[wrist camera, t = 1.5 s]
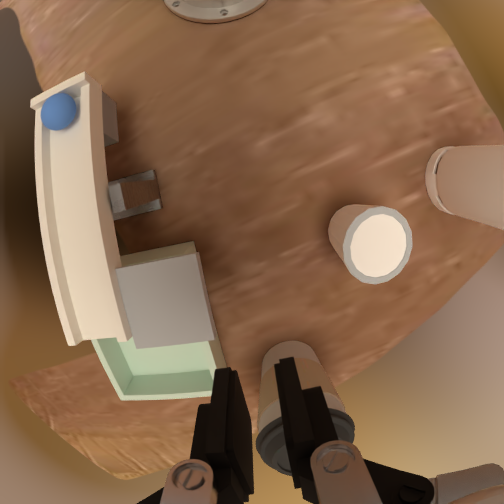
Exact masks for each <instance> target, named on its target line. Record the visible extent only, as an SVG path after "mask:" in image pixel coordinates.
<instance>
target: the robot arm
mask: <svg viewBox="0 0 504 504" xmlns="http://www.w3.org/2000/svg"><path fill="white" fill-rule="evenodd" d="M163 1H164V3H165V5H166V6H167V7H168V8H169V10H170V11H172V12H173V13H174V14H176V15H177V16H179V17H182V18H184V19H186V20H190V21H194V22H202V23H219V22H227V21H231V20H235V19H239V18H242V17H244V16H246V15H249V14H251V13H252V12H254V11H256V10H258V9H259V8H260V7H261V6H262V5H264V4H265V3H266V1H267V0H163ZM224 15H225V16H224ZM279 362H280V363H277V364H274V369H275V376H276V382H277V389H278V396H279V403H280V410H281V416H282V423H283V430H284V437H285V443H286V449H287V453H288V458H289V463H290V468H291V473H292V477H293V482H294V487H295V489H296V488H301V489H302V495H303V499H304V500H306V501H308V502H310V503H313V504H504V470H503V468H502V467H500V466H499V465H497V464H493V463H491V464H485V465H481V466H477V467H473V468H469V469H465V470H461V471H456V472H451V473H446V474H441V475H437V476H436V478H430V479H427V478H425V477H423V476H420V475H416V474H412V473H408V472H404V471H400V470H397V469H394V468H391V467H387V466H384V465H381V464H378V463H375V462H372V461H368V460H366V459H363V458H362V455H361V453H360V451H359V450H358V448H357V447H356V446H355V445H353V444H352V443H350V442H347V441H341V440H339V439H338V436H337V433H336V430H335V427H334V424H333V421H332V418H331V415H330V412H329V409H328V406H327V403H326V400H325V397H324V394H323V391H322V388H321V386H317V387H313V388H308V389H303V390H302V388H301V384H300V380H299V376H298V372H297V368H296V364H295V360H294V357H288V358H283V359H279ZM250 494H254V481H253V453H252V425H251V418H250V415H249V411H248V408H247V404H246V401H245V398H244V394H243V391H242V387H241V384H240V380H239V377H238V373H237V371H236V370H233V371H232V370H231V368H230V367H227V368H219V369H215V372H214V380H213V387H212V395H211V403H209V404H200V405H199V407H198V412H197V418H196V424H195V430H194V436H193V442H192V448H191V455H190V459H188V460H184V461H181V462H179V463H177V464H176V465H174V466H173V467H172V468H171V469H170V471H169V473H168V475H167V479H166V482H165V486H164V487H163V488H161V489H160V490H158V491H157V492H155V493H154V494H152V495H150V496H149V497H147V498H146V499H144V500H142V501H140V502H139V503H137V504H244V502H248V501H249V495H250Z"/></svg>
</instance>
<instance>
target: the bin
mask: <svg viewBox="0 0 504 504" xmlns="http://www.w3.org/2000/svg"><path fill="white" fill-rule="evenodd" d="M190 253H196V248H195V244H194V241H191V242H186V243H181V244H176V245H171V246H166V247H161V248H156V249H151V250H147V251H142V252H137V253H132V254H128V255H123V256H120V259H121V264H122V267H124V266H129V265H134V264H139V263H144V262H149V261H154V260H159V259H165V258H170V257H175V256H180V255H185V254H190ZM213 320H214V319H213ZM214 324H215V323H214ZM215 328H216V327H215ZM216 333H217V330H216ZM91 341H92V343H93V346H94V348H95V350H96V352H97V354H98V356H99V359H100V361H101V363H102V365H103V367H104V369H105V371H106V373H107V375H108V377H109V379H110V381H111V383H112V385H113V386H114V388H115V390H116V392H117V394H118V396H119V398H120V399H121V400H161V399H180V398H194V397H205V396H211V395H212V387H213V380H214V372H215V369H219V368H227V365H226V362H225V358H224V355H223V352H222V348H221V345H220V341H219V338H218V334H217V335H216V338H215V340H211V341H204V342H196V343H188V344H180V345H171V346H162V347H153V348H142V349H136V346H135V343H134V340H133V337H131V338H130V339H129V340H128V341H126V342H118V341H117V338H116V337H114V338H103V339H91Z"/></svg>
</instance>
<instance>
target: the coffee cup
mask: <svg viewBox="0 0 504 504" xmlns="http://www.w3.org/2000/svg"><path fill="white" fill-rule="evenodd" d="M288 357H294V360H295V364H296V368H297V372H298V376H299V380H300V384H301V388H302V390H303V389H308V388H313V387H317V386H321V388H322V391H323V394H324V397H325V400H326V403H327V406H328V409H329V412H330V415H331V418H332V421H333V424H334V427H335V430H336V433H337V436H338V439H339V440H341V441H347V442H350V443H353V441H354V430H355V428H354V427H355V426H354V422H353V420H352V419H351V417H350V416H349V415H347V414H346V412H345V407H344V404H343V402H342V401H341V399H340V397H339V395H338V393H337V391H336V389H335V388H334V386H333V384H332V382H331V380H330V378H329V377H328V375H327V373H326V371H325V369H324V368H323V367H322V366H321V364H320V362H319V360H318V358H317V356H316V354H315V352H314V351H313V349H312V348H311V347H310V346H309V345H307V344H305V343H303V342H300V341H285V342H282V343H279V344H277V345H275V346H273V347H272V348H271V349H270V350H269V351H268V352H267V353H266V354H265V356H264V358H263V361H262V376H261V383H260V392H259V406H258V420H257V428H258V431H259V435H258V437H257V439H256V449H257V451H258V453H259V454H260V456H261V458H262V460H263V461H264V462H265V463H266V464H267V465H268V466H270V467H272V468H273V469H276V470H277V471H278V472H280V473H282V474H286V475H289V476H292V473H291V468H290V463H289V458H288V453H287V449H286V443H285V437H284V430H283V423H282V416H281V410H280V403H279V396H278V389H277V382H276V376H275V369H274V364H277V363H280V362H279V359H283V358H288Z"/></svg>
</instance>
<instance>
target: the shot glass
mask: <svg viewBox="0 0 504 504" xmlns="http://www.w3.org/2000/svg"><path fill="white" fill-rule="evenodd" d="M328 235H329V241H330V243H331V244H332V246H333V248H334V250H335V251H336V252H337V254H338V255H339V257H340V258H341V260H342V261H343V263H344V264H345V266H346V267H347V269H348V270H349V272H350V273H351V274H352V275H353V276H354V277H356V278H357V279H358V280H360V281H361V282H364V283H370V284H379V283H383V282H386V281H389V280H390V279H392V278H393V277H395V276H396V275H397V274H399V273H400V272H401V270H402V269H403V267H404V266H405V265H406V263H407V262H408V259H409V256H410V253H411V249H412V232H411V229H410V227H409V225H408V223H407V220H406V219H405V218H404V217H403V216H402V215H401V214H400V213H399V212H398V211H397V210H394V209H391V208H388V207H384V206H374V205H360V204H352V205H347V206H344V207H342V208H341V209H339V210H338V211H336V213H335V214H334V215H333V217H332V218H331V220H330V223H329V227H328Z"/></svg>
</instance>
